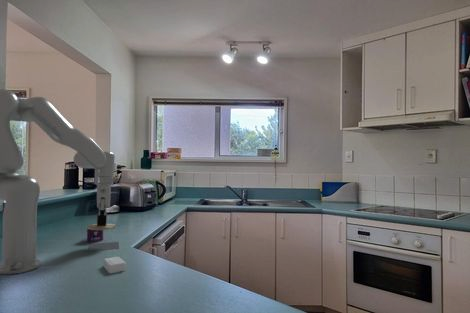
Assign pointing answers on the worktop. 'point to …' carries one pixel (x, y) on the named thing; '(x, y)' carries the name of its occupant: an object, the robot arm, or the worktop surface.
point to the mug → (94, 235)
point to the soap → (114, 264)
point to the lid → (101, 227)
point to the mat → (103, 246)
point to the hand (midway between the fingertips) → (101, 223)
